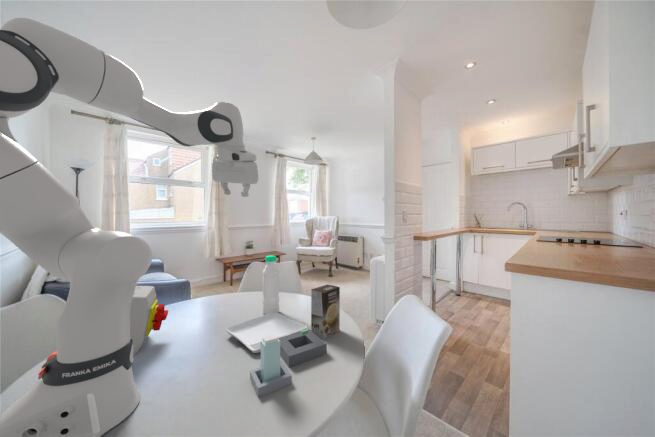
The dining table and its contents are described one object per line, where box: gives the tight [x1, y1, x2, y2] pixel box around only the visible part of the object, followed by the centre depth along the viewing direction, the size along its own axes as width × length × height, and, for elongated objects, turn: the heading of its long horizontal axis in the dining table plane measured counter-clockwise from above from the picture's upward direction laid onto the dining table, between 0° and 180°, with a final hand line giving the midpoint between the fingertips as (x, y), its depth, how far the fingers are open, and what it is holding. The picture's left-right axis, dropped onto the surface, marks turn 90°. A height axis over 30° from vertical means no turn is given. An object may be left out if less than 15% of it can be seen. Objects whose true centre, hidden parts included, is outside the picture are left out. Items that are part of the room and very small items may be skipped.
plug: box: [260, 334, 281, 383], centre depth 59 cm, size 4×3×11 cm
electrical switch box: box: [130, 285, 169, 356], centre depth 78 cm, size 15×15×20 cm
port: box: [278, 328, 328, 368], centre depth 72 cm, size 12×11×5 cm
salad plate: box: [225, 312, 309, 354], centre depth 84 cm, size 21×21×3 cm
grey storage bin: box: [249, 360, 293, 398], centre depth 59 cm, size 8×7×3 cm
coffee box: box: [310, 284, 341, 340], centre depth 86 cm, size 9×6×16 cm
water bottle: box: [262, 254, 280, 315], centre depth 104 cm, size 7×7×25 cm
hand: (236, 195), depth 85 cm, fingers open, 8 cm apart
